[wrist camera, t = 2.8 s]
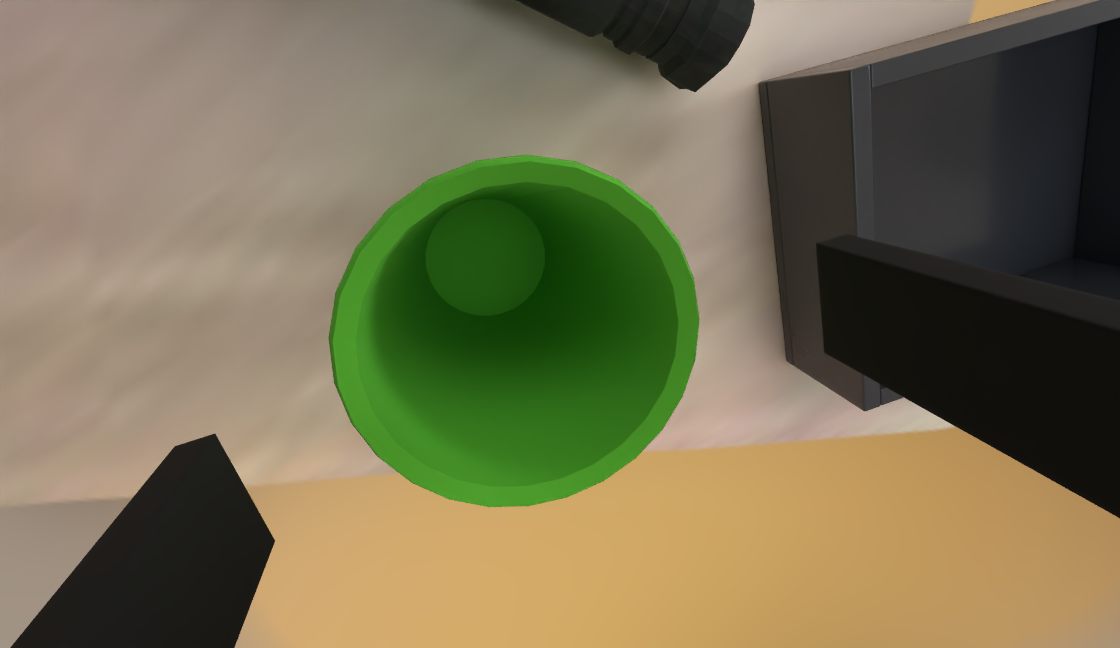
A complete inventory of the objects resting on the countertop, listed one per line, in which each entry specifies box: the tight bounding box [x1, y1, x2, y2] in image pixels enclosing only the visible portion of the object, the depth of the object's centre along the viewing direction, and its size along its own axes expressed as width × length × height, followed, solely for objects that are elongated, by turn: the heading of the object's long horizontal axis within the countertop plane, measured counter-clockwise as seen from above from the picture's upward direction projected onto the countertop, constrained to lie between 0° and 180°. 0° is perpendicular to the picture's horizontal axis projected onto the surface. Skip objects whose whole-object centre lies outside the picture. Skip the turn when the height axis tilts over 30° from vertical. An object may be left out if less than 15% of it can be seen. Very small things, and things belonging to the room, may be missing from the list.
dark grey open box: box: [759, 0, 1120, 411], centre depth 25 cm, size 18×14×6 cm
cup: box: [329, 155, 699, 507], centre depth 19 cm, size 9×9×11 cm
